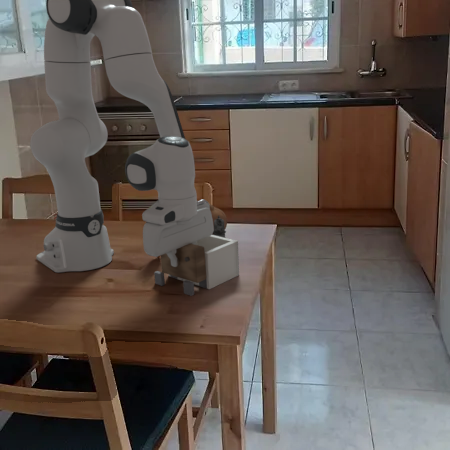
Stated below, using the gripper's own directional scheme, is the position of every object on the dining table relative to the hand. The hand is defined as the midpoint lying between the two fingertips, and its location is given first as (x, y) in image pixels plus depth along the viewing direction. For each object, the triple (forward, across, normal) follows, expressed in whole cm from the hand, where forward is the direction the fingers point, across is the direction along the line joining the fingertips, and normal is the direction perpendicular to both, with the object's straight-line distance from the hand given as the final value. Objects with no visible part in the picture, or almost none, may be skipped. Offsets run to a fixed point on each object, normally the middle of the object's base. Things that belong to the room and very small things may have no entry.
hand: (182, 262), depth 140 cm
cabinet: (+6, -5, 0) cm, 7 cm away
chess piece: (+6, -19, -5) cm, 21 cm away
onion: (+6, -31, -19) cm, 37 cm away
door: (+3, 0, 0) cm, 3 cm away
